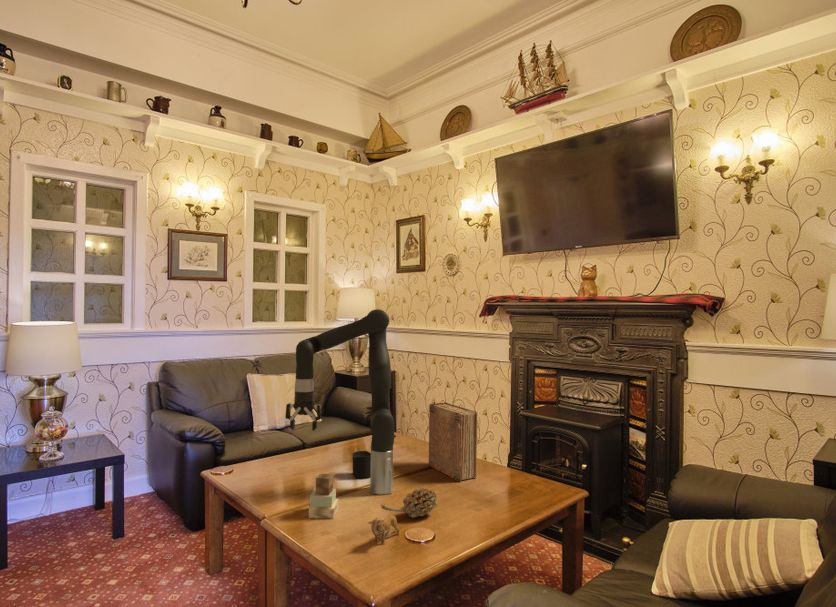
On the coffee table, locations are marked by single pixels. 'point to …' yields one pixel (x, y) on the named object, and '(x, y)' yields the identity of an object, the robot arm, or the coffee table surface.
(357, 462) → the pen holder
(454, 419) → the book
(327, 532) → the coffee table surface
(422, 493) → the pine cone
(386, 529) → the lion figurine
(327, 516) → the block
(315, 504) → the tower top
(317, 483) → the walnut block
